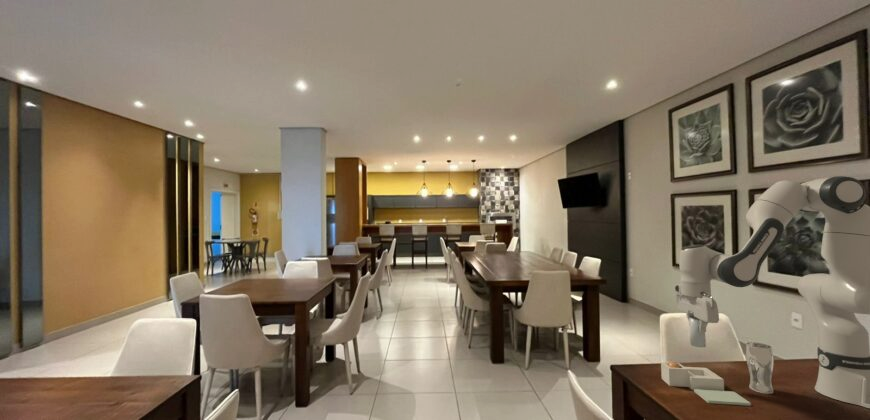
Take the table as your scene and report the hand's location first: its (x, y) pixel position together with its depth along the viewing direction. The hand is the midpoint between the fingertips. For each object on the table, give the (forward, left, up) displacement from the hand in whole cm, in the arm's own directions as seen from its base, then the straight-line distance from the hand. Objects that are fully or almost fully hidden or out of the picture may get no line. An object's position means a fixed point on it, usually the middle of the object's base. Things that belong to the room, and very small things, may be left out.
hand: (697, 329), depth 127 cm
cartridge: (0, 0, -6) cm, 6 cm away
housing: (+3, 0, -19) cm, 19 cm away
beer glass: (-18, +2, -19) cm, 26 cm away
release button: (+8, 0, -16) cm, 18 cm away
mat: (-1, +10, -19) cm, 22 cm away
